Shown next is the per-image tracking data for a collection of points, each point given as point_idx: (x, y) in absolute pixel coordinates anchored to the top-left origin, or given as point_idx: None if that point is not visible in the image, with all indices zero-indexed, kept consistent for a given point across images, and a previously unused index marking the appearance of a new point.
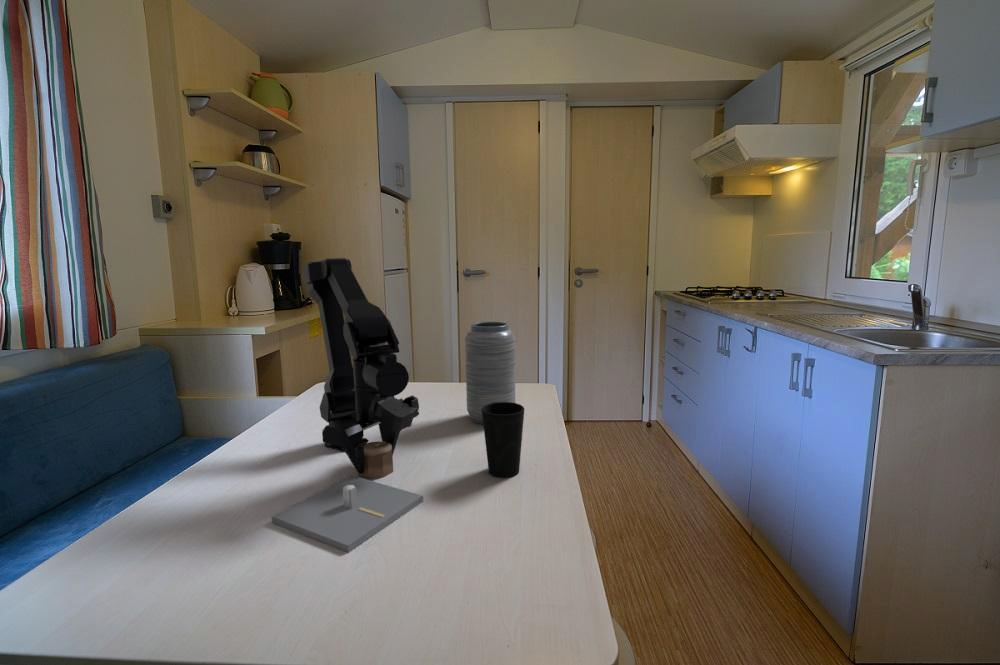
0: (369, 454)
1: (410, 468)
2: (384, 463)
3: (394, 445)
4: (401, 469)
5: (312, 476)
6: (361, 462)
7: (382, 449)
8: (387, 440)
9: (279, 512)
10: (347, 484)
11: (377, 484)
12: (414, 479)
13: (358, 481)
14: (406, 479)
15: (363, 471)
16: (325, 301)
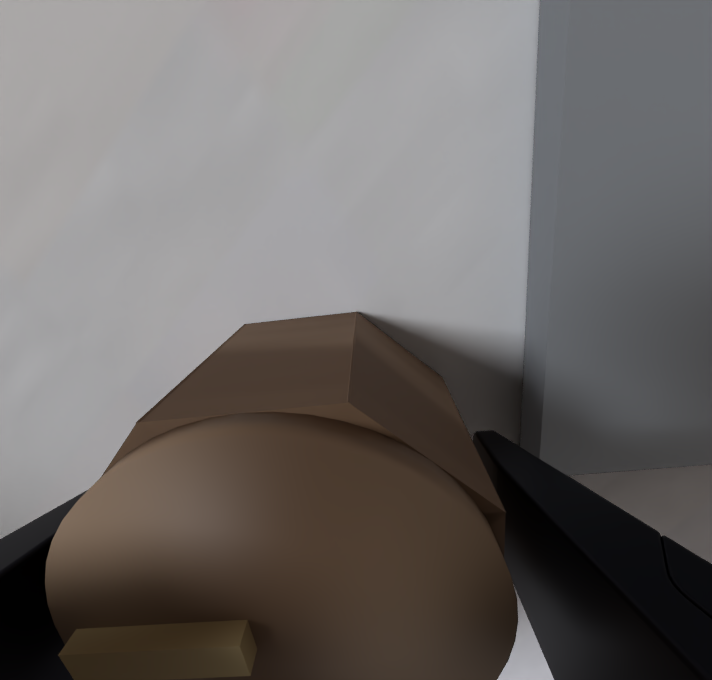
0: (489, 540)
1: (107, 256)
2: (327, 355)
3: (15, 541)
4: (173, 304)
5: None
6: (580, 495)
7: (242, 528)
8: (23, 663)
9: None
10: (695, 380)
11: (591, 149)
12: (209, 24)
13: (610, 352)
14: (261, 101)
15: (485, 435)
16: None
